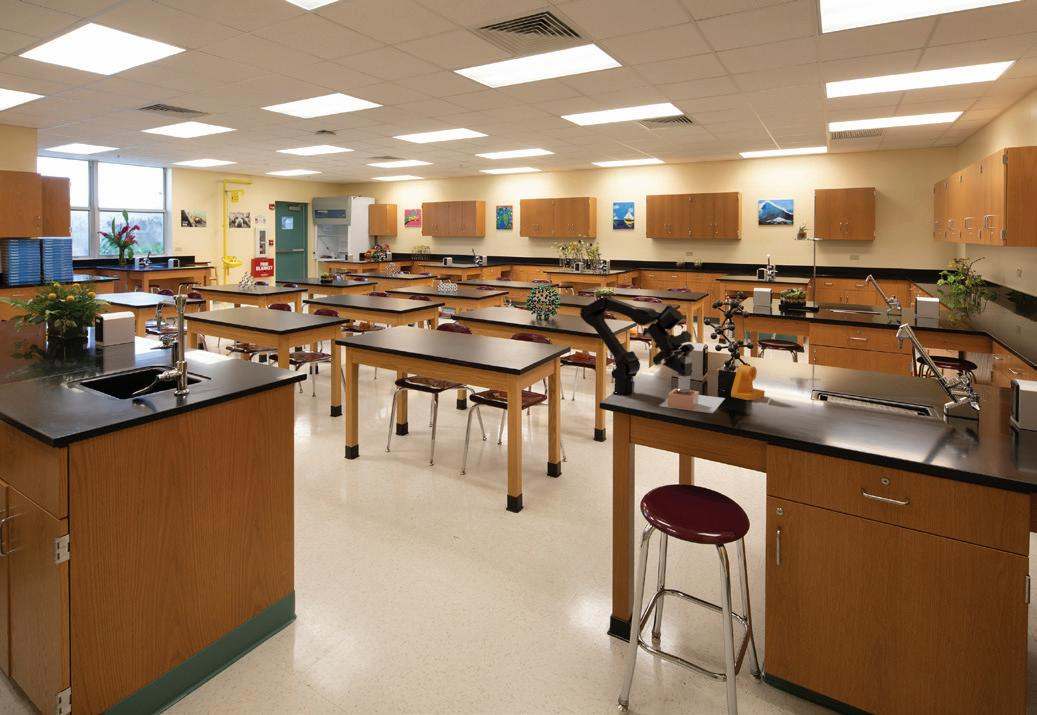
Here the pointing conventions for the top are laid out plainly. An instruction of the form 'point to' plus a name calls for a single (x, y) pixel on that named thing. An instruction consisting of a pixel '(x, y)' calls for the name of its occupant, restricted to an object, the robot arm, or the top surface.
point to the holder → (683, 399)
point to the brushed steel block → (685, 379)
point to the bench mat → (702, 404)
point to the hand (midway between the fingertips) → (688, 373)
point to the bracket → (746, 384)
